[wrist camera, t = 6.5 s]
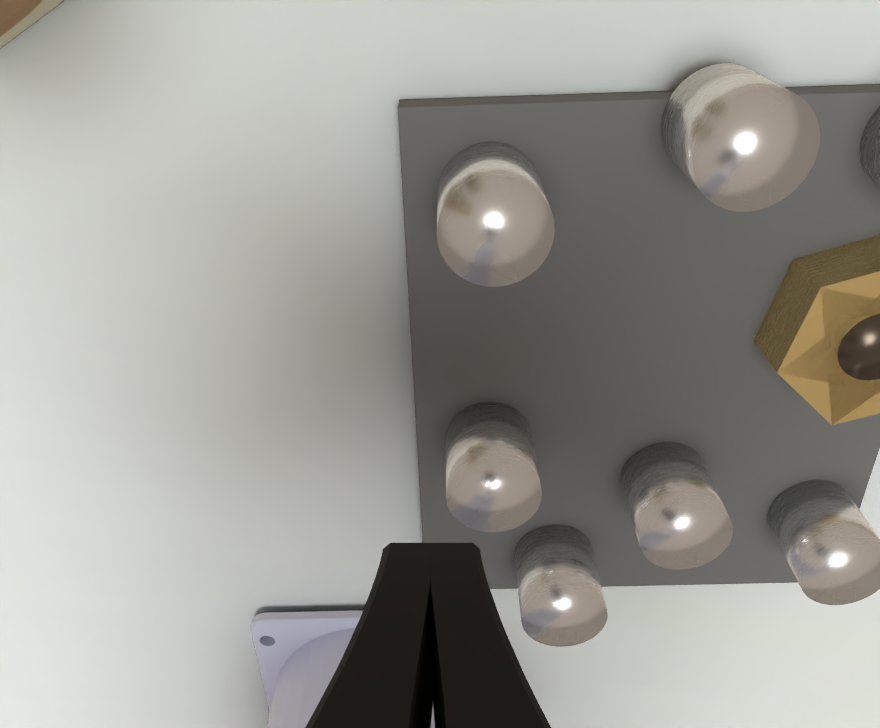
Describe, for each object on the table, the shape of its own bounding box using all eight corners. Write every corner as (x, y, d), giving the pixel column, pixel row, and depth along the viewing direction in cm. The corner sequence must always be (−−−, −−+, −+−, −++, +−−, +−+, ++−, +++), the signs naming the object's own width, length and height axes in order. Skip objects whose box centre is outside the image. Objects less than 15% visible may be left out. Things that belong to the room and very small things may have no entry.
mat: (824, 562, 25) (835, 581, 24) (426, 571, 25) (425, 590, 24) (976, 81, 17) (998, 88, 16) (399, 99, 17) (397, 107, 17)
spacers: (827, 574, 24) (865, 640, 22) (450, 582, 24) (451, 648, 22) (995, 54, 16) (1080, 77, 14) (432, 72, 16) (431, 97, 14)
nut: (941, 355, 20) (979, 389, 19) (761, 401, 21) (785, 438, 19) (943, 216, 18) (985, 243, 17) (744, 272, 19) (768, 302, 17)
